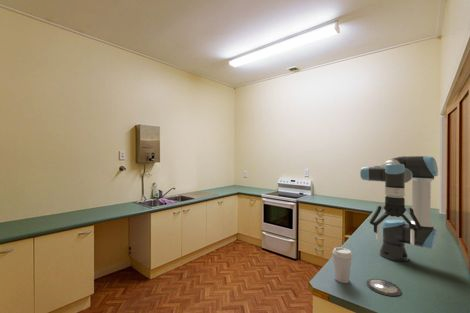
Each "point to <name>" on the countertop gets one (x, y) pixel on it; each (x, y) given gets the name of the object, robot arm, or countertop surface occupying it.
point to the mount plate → (383, 287)
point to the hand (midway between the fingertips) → (394, 242)
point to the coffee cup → (342, 264)
